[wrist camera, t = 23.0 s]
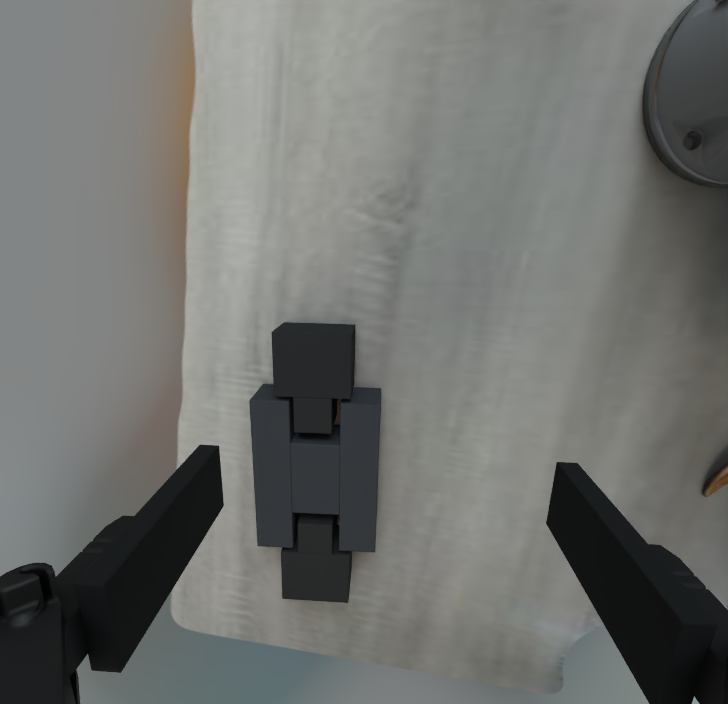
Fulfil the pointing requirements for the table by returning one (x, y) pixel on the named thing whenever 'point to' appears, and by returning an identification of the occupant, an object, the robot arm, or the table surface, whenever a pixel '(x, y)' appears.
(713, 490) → the bone fish hook
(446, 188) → the table surface
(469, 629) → the table surface
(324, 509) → the base tile
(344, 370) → the dark grey t-shaped block
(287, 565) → the dark stepped block
